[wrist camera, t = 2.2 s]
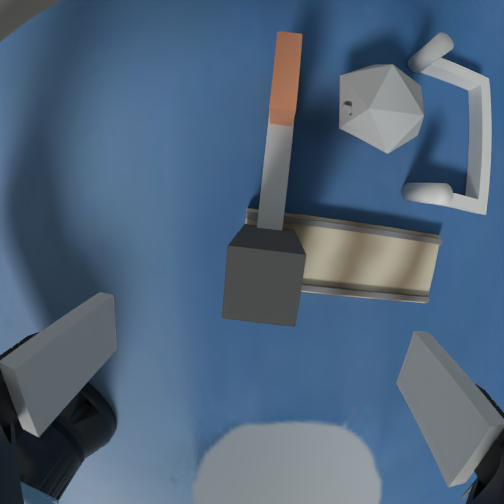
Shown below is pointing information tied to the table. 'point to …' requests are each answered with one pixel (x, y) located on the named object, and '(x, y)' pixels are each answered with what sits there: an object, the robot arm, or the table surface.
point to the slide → (362, 258)
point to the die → (380, 106)
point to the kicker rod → (270, 215)
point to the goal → (479, 130)
